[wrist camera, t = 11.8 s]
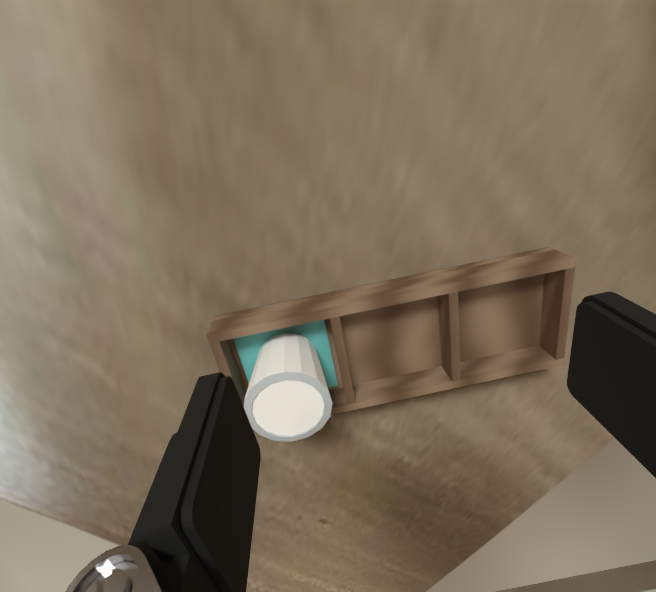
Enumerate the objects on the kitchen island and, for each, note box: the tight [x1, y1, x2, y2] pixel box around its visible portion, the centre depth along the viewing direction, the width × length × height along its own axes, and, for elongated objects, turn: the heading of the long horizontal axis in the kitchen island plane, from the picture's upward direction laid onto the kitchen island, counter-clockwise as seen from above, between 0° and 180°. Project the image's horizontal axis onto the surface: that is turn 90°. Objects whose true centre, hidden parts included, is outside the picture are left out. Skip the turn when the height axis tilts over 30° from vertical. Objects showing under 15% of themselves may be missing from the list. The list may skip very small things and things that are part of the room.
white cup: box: [244, 333, 333, 441], centre depth 31 cm, size 7×7×7 cm
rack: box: [207, 247, 576, 431], centre depth 34 cm, size 31×12×3 cm, turn 100°
